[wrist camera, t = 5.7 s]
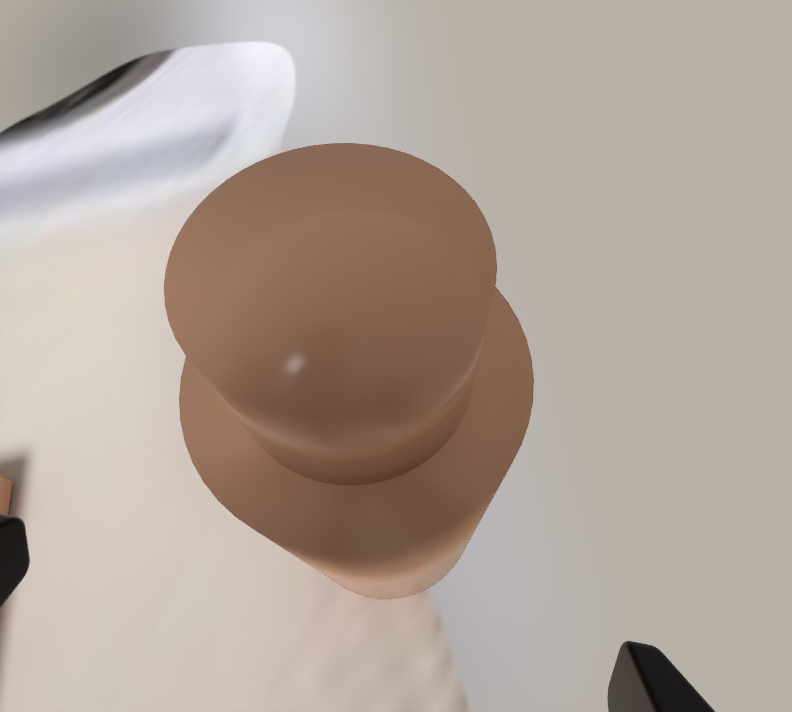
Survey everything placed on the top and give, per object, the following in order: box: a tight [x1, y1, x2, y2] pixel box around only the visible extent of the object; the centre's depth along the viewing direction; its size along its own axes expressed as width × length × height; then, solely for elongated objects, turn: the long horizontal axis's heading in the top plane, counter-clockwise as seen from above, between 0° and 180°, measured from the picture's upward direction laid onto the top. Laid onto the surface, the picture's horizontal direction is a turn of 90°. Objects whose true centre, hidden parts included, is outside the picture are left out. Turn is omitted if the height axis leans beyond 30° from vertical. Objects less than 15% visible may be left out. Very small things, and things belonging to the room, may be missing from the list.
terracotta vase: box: [164, 143, 534, 599], centre depth 13 cm, size 6×6×14 cm
